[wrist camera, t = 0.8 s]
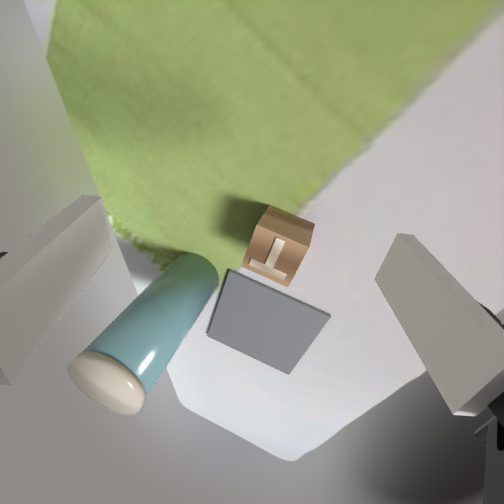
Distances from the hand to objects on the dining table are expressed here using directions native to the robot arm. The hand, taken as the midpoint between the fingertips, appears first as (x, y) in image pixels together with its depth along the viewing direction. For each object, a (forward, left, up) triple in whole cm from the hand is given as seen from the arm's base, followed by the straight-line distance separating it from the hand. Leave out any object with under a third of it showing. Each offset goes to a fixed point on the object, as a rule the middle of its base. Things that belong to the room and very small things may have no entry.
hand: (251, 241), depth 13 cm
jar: (+23, -9, -21) cm, 32 cm away
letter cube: (+10, +1, -21) cm, 23 cm away
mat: (+27, +4, -21) cm, 35 cm away
